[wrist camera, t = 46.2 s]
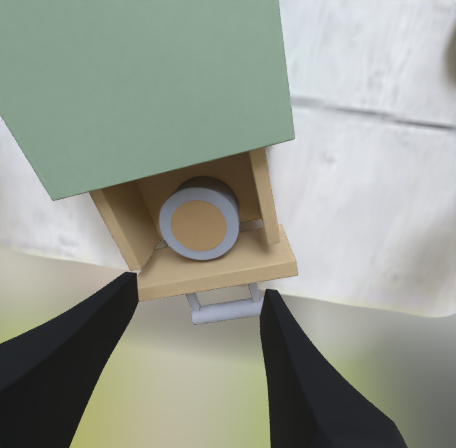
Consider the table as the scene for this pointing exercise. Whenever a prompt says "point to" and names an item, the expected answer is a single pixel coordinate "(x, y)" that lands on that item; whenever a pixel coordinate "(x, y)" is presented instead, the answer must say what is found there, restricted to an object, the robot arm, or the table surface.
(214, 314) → the drawer
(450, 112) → the table surface
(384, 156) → the table surface
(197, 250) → the cylinder
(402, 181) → the table surface
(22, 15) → the cabinet
